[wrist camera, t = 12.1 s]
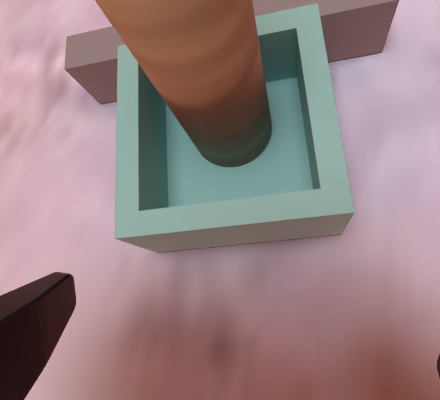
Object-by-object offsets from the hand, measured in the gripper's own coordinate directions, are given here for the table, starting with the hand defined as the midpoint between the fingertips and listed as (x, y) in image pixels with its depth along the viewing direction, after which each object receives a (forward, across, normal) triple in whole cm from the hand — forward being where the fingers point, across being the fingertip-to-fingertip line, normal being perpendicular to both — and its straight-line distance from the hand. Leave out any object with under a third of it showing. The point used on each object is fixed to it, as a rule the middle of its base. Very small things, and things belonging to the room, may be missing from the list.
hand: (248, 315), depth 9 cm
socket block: (+11, +2, 0) cm, 11 cm away
